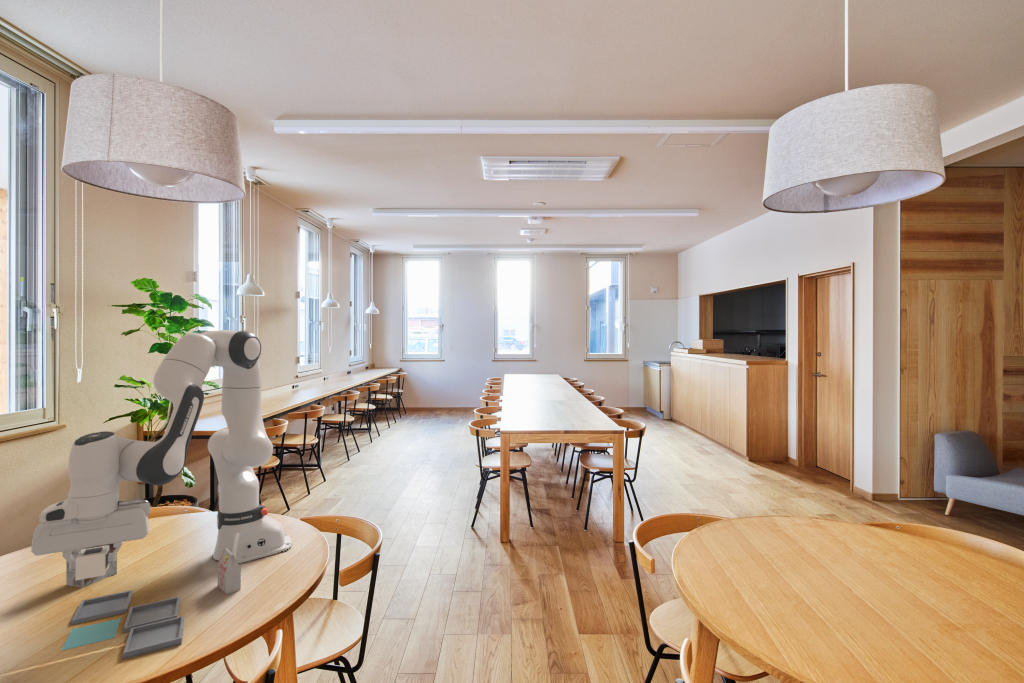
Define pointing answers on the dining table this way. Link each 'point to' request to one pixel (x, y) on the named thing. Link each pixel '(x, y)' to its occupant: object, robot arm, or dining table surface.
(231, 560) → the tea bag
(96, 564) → the white cube
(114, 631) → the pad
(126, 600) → the dish
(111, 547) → the coffee box
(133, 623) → the dish
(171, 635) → the dish
